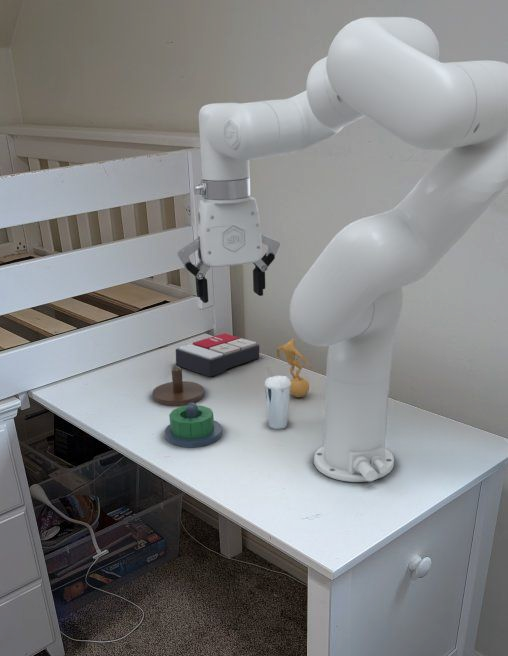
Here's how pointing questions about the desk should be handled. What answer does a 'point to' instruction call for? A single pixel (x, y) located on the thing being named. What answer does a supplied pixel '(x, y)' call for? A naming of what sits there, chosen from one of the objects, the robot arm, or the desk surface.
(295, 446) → the desk surface
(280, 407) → the milkshake
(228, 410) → the desk surface
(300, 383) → the figurine
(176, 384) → the walnut peg
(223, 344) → the calculator
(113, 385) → the desk surface
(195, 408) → the slate peg
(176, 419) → the ring
